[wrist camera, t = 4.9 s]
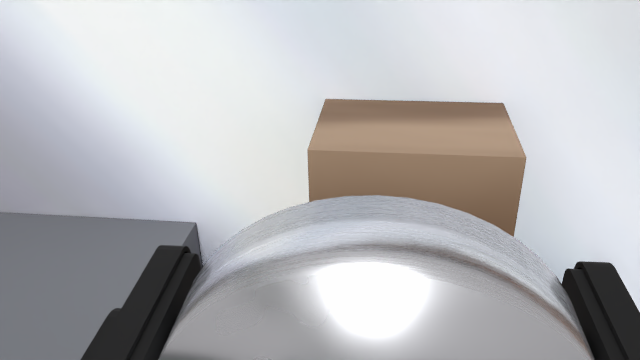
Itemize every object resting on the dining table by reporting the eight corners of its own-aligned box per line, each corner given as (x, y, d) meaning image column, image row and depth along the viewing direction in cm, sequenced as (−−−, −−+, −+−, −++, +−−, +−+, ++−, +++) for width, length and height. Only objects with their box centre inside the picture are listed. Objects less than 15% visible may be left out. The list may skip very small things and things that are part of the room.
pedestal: (325, 99, 17) (307, 150, 14) (503, 103, 16) (526, 157, 13) (328, 242, 19) (313, 313, 16) (483, 250, 18) (499, 326, 15)
